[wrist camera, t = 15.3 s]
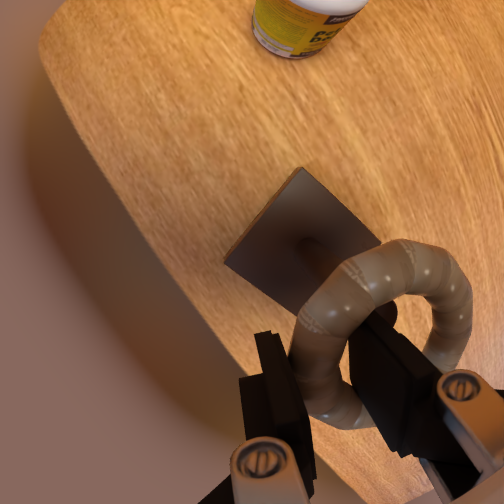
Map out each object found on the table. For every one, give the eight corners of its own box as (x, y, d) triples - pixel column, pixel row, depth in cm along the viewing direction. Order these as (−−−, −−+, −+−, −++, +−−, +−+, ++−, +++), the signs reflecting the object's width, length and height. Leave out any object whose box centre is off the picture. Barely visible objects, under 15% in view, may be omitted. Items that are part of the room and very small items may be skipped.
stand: (222, 258, 21) (227, 345, 11) (297, 167, 20) (377, 166, 10) (306, 319, 23) (363, 420, 12) (374, 239, 22) (476, 293, 11)
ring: (238, 360, 9) (242, 391, 8) (388, 189, 9) (418, 195, 7) (364, 428, 11) (378, 453, 10) (475, 308, 10) (500, 323, 9)
